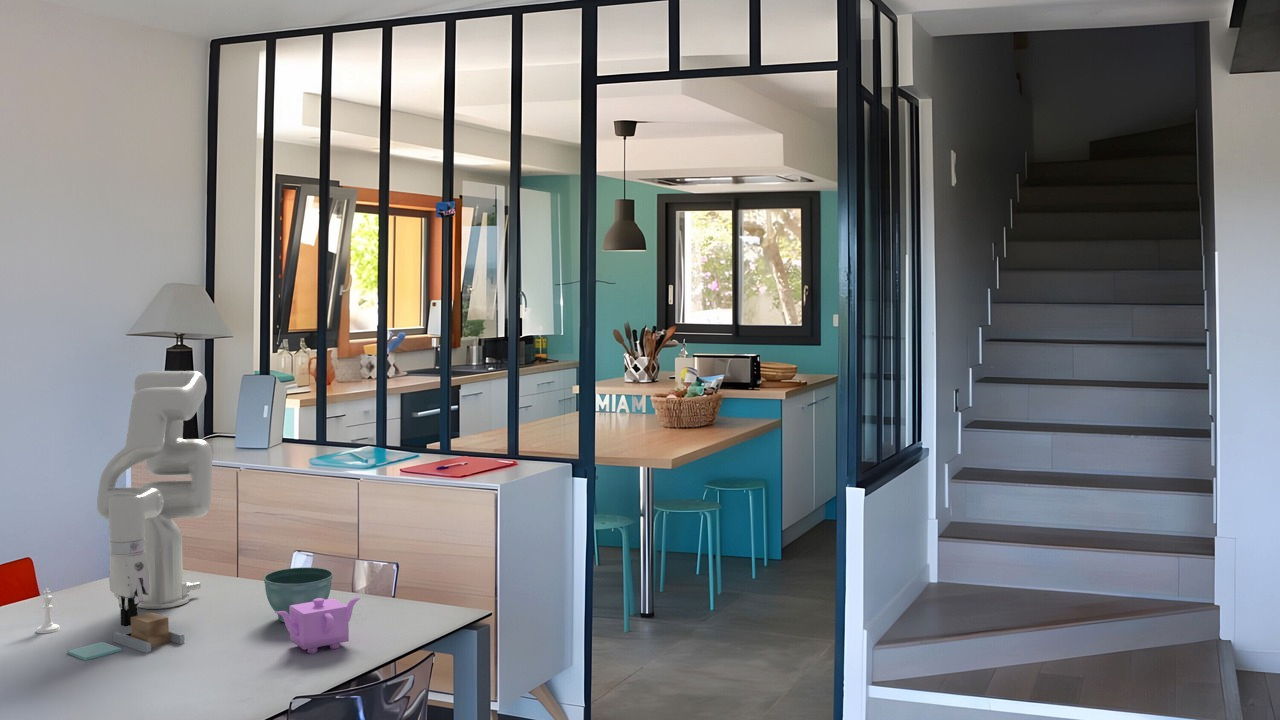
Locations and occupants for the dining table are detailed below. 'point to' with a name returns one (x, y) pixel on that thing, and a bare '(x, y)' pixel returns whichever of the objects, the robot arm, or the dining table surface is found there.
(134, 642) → the grey twin-rail rack
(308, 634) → the teapot
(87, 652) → the pad
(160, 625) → the walnut block
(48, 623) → the chess piece
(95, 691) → the dining table surface
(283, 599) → the green bowl
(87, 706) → the dining table surface
